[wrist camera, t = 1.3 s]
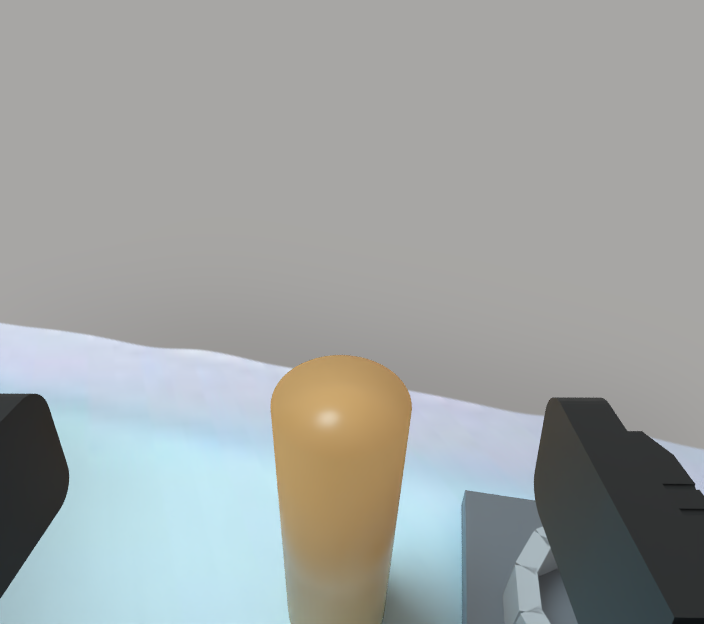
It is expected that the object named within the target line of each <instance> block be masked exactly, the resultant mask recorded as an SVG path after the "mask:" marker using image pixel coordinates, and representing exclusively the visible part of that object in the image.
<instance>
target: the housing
mask: <svg viewBox="0 0 704 624" xmlns="http://www.w3.org/2000/svg"><path fill="white" fill-rule="evenodd" d="M461 506H462V624H578V623H577V620H576V617H575V614H574V612H573V609H572V606H571V603H570V600H569V598H568V595H567V592H566V589H565V587H564V584H563V581H562V578H561V575H560V573H559V570H558V567H557V564H556V562H555V559H554V556H553V553H552V550H551V548H550V545H549V542H548V539H547V537H546V534H545V531H544V528H543V525H542V523H541V520H540V517H539V514H538V511H537V506H536V501H534V500H527V499H520V498H513V497H507V496H500V495H493V494H487V493H480V492H473V491H467V490H465V493H464V497H463V501H462V505H461Z"/></svg>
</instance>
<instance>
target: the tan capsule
mask: <svg viewBox="0 0 704 624" xmlns="http://www.w3.org/2000/svg"><path fill="white" fill-rule="evenodd" d="M411 411H412V404H411V398H410V395H409V392H408V390H407V388H406V386H405V385H404V383H403V382H402V381H401V380H400V379H399V377H398V376H397V375H396V374H394V373H393V372H392V371H391V370H389V369H388V368H386V367H384V366H383V365H381V364H379V363H377V362H374V361H371V360H368V359H365V358H361V357H356V356H348V355H333V356H325V357H320V358H315V359H313V360H309V361H307V362H305V363H302V364H300V365H298V366H297V367H295V368H293V369H292V370H291V371H289V372H288V373H287V374H286V375H285V376H284V377H283V378H282V379H281V380H280V381H279V383H278V384H277V386H276V388H275V390H274V392H273V394H272V399H271V418H272V429H273V441H274V452H275V463H276V475H277V486H278V498H279V509H280V521H281V532H282V544H283V555H284V567H285V578H286V589H287V601H288V612H289V618H290V622H291V624H381V623H382V620H383V616H384V608H385V601H386V594H387V587H388V579H389V572H390V565H391V557H392V550H393V543H394V535H395V528H396V521H397V514H398V506H399V499H400V492H401V484H402V477H403V470H404V462H405V455H406V448H407V441H408V433H409V426H410V419H411Z"/></svg>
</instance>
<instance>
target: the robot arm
mask: <svg viewBox="0 0 704 624" xmlns="http://www.w3.org/2000/svg"><path fill="white" fill-rule="evenodd" d="M68 485H69V470H68V466H67V462H66V459H65V456H64V453H63V450H62V447H61V444H60V441H59V437H58V434H57V431H56V428H55V425H54V422H53V419H52V416H51V412H50V409H49V406H48V404H47V402H46V400H45V399H44V398H43V397H42V396H40V395H38V394H0V598H1V597H2V595H3V594H4V592H5V591H6V589H7V588H8V586H9V585H10V583H11V582H12V580H13V579H14V577H15V576H16V574H17V573H18V571H19V570H20V568H21V567H22V565H23V564H24V562H25V561H26V559H27V558H28V556H29V555H30V553H31V552H32V550H33V549H34V547H35V546H36V544H37V543H38V541H39V540H40V538H41V537H42V535H43V534H44V532H45V531H46V529H47V528H48V526H49V525H50V523H51V522H52V520H53V519H54V517H55V516H56V514H57V513H58V511H59V510H60V508H61V506H62V505H63V502H64V500H65V498H66V495H67V491H68ZM534 493H535V501H536V506H537V511H538V514H539V517H540V520H541V523H542V525H543V528H544V531H545V534H546V537H547V539H548V542H549V545H550V548H551V550H552V553H553V556H554V559H555V562H556V564H557V567H558V570H559V573H560V575H561V578H562V581H563V584H564V587H565V589H566V592H567V595H568V598H569V600H570V603H571V606H572V609H573V612H574V614H575V617H576V620H577V623H578V624H704V495H703V494H702V493H701V491H700V490H696V489H695V483H694V482H693V480H692V479H691V478H690V476H689V475H688V474H687V472H686V471H685V470H684V468H683V467H682V466H681V464H680V463H679V462H678V460H677V459H676V458H675V456H674V455H673V454H671V453H670V452H669V451H667V450H666V449H665V448H663V447H662V446H661V445H659V444H658V443H657V442H655V441H654V440H653V439H651V438H650V437H649V436H647V435H646V434H644V433H643V432H642V431H627V430H626V429H625V427H624V426H623V424H622V423H621V421H620V420H619V418H618V417H617V415H616V414H615V412H614V411H613V409H612V408H611V406H610V405H609V403H608V402H607V401H606V400H605V399H603V398H551V399H550V400H549V402H548V404H547V407H546V411H545V417H544V422H543V428H542V434H541V439H540V445H539V451H538V456H537V462H536V468H535V474H534Z"/></svg>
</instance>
